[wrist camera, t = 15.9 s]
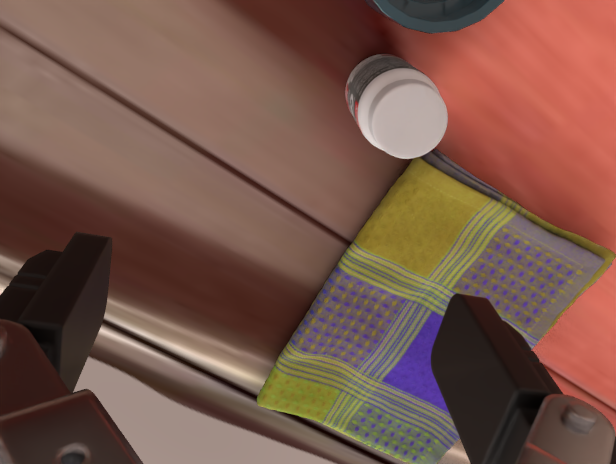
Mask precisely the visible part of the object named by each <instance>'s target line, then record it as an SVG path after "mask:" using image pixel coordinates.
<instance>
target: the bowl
mask: <svg viewBox="0 0 616 464" xmlns="http://www.w3.org/2000/svg"><path fill="white" fill-rule="evenodd" d="M365 1H366V3H367V4H368V5H369V7H371V8H372V9H373V10H375V11H376V12H378V13H379V14H381V15H382V16H384V17H385V18H387V19H389V20H390V21H393V22H395V23H397V24H399V25H401V26H403V27H405V28H409V29H413V30H417V31H421V32H425V33H429V34H430V33H431V34H433V33H443V32H453V31H458V30H461V29H463V28H465V27H467V26H470V25H472V24H474V23H476V22H479V21H481V20H482V19H484V18H485V17H486V16H488V15H489V14H490V13H491V12H492V11H493V10H495V9H496V8H497V7H498V6H499V5H500V4H502V3H503V2H504V0H365Z"/></svg>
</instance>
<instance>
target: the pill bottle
mask: <svg viewBox="0 0 616 464" xmlns="http://www.w3.org/2000/svg"><path fill="white" fill-rule="evenodd" d="M345 94H346V102H347V105H348V108H349V110H350V112H351V114H352V115H353V117H354V119H355V121H356V123H357V124H358V126H359V128H360V130H361V132H362V133H363V135H364V137H365V138H366V139H367V140H368V141H369V142H370V143H371V144H372V145H374V146H375V147H377V148H379V149H381V150H383V151H385V152H387V153H388V154H390V155H392V156H394V157H398V158H403V159H409V158H416V157H419V156H422V155H424V154H426V153H428V152H429V151H431V150H432V149H433V148H435V147H436V146H437V144H438V143H439V142H440V141H441V139H442V137H443V136H444V133H445V131H446V128H447V123H448V114H447V108H446V105H445V103H444V101H443V99H442V97H441V96H440V93H439V91H438V89H437V87H436V86H435V84H434V83H433V82H432V81H431V79H429V78H428V77H427V76H426V75H425V74H424V73H422V72H420V71H419V70H418V69H416V68H415V67H413V66H412V65H410V64H409V63H408V62H406V61H405V60H404V59H402V58H400V57H397V56H395V55H391V54H378V55H374V56H371V57H369V58H367V59H365V60H363V61H362V62H360V63H359V64H358V65H357V66H356V67H355V68H354V70H353V71H352V72H351V74H350V76H349V78H348V81H347V85H346V92H345Z"/></svg>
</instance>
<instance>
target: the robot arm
mask: <svg viewBox="0 0 616 464" xmlns="http://www.w3.org/2000/svg"><path fill="white" fill-rule="evenodd" d="M111 254H112V238H111V237H105V236H99V235H93V234H87V233H80V232H76V233H75V234H74V236H73V237H72V239H71V240H70V242H69V243H68V245H67V246H66V248H65V249H64V251H63V252H58V251H52V250H45V251H43V252H41V253H39V254H37V255H35V256H34V257H32V258H30V259H28V260H27V261H26V263H25V264H24V265H23V266H22V268H21V269H20V270H19V272H18V275H16V276H15V277H14V278H13V280H12V281H11V282H10V285H9V286H7V288H6V289H5V290H4V291H3V293H2V294H1V295H0V464H143V463H142V461H141V460H140V458H139V457H138V455H137V454H136V453H135V451H134V450H133V448H132V447H131V445H130V444H129V442H128V441H127V440H126V438H125V437H124V435H123V434H122V432H121V431H120V430H119V429H118V427H117V425H116V424H115V422H114V421H113V420H112V418H111V417H110V415H109V414H108V412H107V411H106V410H105V408H104V407H103V405H102V404H101V403H100V401H99V400H98V398H97V397H96V396H95V394H94V393H93V392H91V391H90V390H88V389H84V390H81V391H77V392H74V393H73V391H74V388H75V386H76V384H77V381H78V379H79V376H80V374H81V372H82V369H83V367H84V365H85V362H86V360H87V358H88V355H89V353H90V351H91V348H92V346H93V344H94V341H95V339H96V337H97V334H98V332H99V330H100V327H101V324H102V321H103V318H104V314H105V309H106V303H107V295H108V285H109V275H110V264H111ZM431 369H432V373H433V375H434V377H435V380H436V382H437V385H438V387H439V389H440V392H441V394H442V396H443V399H444V401H445V404H446V406H447V408H448V411H449V413H450V415H451V418H452V420H453V423H454V425H455V427H456V430H457V432H458V434H459V437H460V439H461V441H462V444H463V446H464V449H465V451H466V453H467V456H468V458H469V460H470V463H471V464H616V437H615V430H614V427H613V425H612V424H611V423H610V421H609V420H608V419H607V418H606V417H605V416H604V415H603V414H602V413H601V412H600V411H598V410H597V409H596V408H594V407H593V406H591V405H590V404H588V403H586V402H584V401H582V400H580V399H578V398H575V397H572V396H569V395H564V394H563V393H562V392H561V390H560V389H559V387H558V386H557V384H556V383H555V382H554V380H553V379H552V377H551V376H550V374H549V373H548V372H547V370H546V369H545V367H544V366H543V364H542V363H539V359H538V357H537V356H536V354H535V353H534V352H533V351H531V347H530V346H529V344H528V343H527V342H526V340H525V339H524V337H523V336H522V334H520V333H519V332H518V331H517V330H515V329H514V328H513V327H512V326H511V325H509V324H508V323H507V322H506V321H503V320H502V319H501V317H500V316H499V314H498V313H497V311H496V310H495V308H494V307H493V306H492V304H491V303H490V301H489V300H488V299H487V298H484V297H477V296H471V295H465V294H459V293H456V294H454V295H453V296H452V297H451V299H450V301H449V303H448V306H447V309H446V312H445V314H444V317H443V320H442V322H441V325H440V328H439V330H438V333H437V336H436V339H435V341H434V344H433V347H432V352H431Z"/></svg>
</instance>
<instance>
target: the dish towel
mask: <svg viewBox="0 0 616 464" xmlns="http://www.w3.org/2000/svg"><path fill="white" fill-rule="evenodd" d="M615 257H616V254H615V253H614V252H612V251H611V250H609V249H607V248H605V247H603V246H601V245H598V244H596V243H594V242H592V241H590V240H588V239H586V238H584V237H582V236H579V235H577V234H574V233H572V232H569V231H566V230H563V229H561V228H558V227H556V226H554V225H552V224H550V223H548V222H546V221H544V220H543V219H541V218H539V217H537V216H536V215H535V214H533V213H531V212H529V211H528V210H526V209H525V208H524V207H522V206H521V205H520V204H518V203H517V202H515V201H513V200H512V199H510V198H509V197H507V196H506V195H504V194H503V193H501V192H500V191H498V190H497V189H495V188H493V187H492V186H490V185H488V184H486V183H485V182H483V181H482V180H480V179H478V178H476V177H475V176H473V175H472V174H471V173H469V172H468V171H466V170H465V169H463V168H462V167H460V166H459V165H458V164H456V163H455V162H453V161H452V160H450V159H449V158H448V157H447V156H446V155H444V154H442V153H441V152H439V151H438V150H437V149H435V150H434V151H433V152H432V151H429V152H428V153H426V154H424V155H423V156H422V157H420V156H419V157H416V158H414V159H413V160H412V162H411V163H410V164H409V166H408V167H407V169H406V170H405V171H404V173H403V174H402V175H401V176H400V177H399V178H398V179H397V181H396V182H395V184H394V185H393V186H392V187H391V188H390V190H389V191H388V193H387V194H386V196H385V197H384V198H383V199H382V201H381V203H380V205H379V206H378V207H377V208H376V209H375V211H374V212H373V214H372V216H371V217H370V218H369V219H368V220H367V221H366V223H365V225H364V226H363V228H362V229H361V230H360V231H359V233H358V235H357V237H356V238H355V240H354V241H353V243H352V244H351V245H350V246H349V247H348V249H347V250H346V251H345V253H344V254H343V256H342V257H341V259H340V261H339V262H338V264H337V265H336V267H335V268H334V270H333V271H332V272H331V274H330V276H329V278H328V279H327V280H326V282H325V284H324V286H323V288H322V290H321V291H320V292H319V293H318V295H317V297H316V299H315V300H314V302H313V303H312V305H311V307H310V309H309V311H308V312H307V313H306V315H305V317H304V319H303V320H302V321H301V322H300V324H299V326H298V328H297V329H296V331H295V332H294V333H293V335H292V337H291V339H290V340H289V342H288V344H287V345H286V346H285V348H284V349H283V351H282V352H281V354H280V355H279V357H278V359H277V361H276V363H275V365H274V367H273V369H272V370H271V373H270V375H269V377H268V378H267V380H266V381H265V384H264V386H263V388H262V389H261V390H260V393H259V395H258V397H257V404H258V405H259V406H261V407H265V408H267V409H270V410H277V411H281V412H286V413H289V414H294V415H298V416H300V417H305V418H309V419H313V420H315V421H317V422H319V423H322V424H324V425H326V426H328V427H330V428H332V429H334V430H336V431H338V432H341V433H343V434H345V435H347V436H349V437H351V438H353V439H355V440H357V441H359V442H362V443H364V444H366V445H368V446H370V447H372V448H374V449H377V450H379V451H381V452H384V453H386V454H388V455H390V456H392V457H394V458H397V459H399V460H401V461H403V462H405V463H408V464H437V463H438V462H439V461H440V459H441V458H442V457H443V456H444V454H445V453H446V452H447V451H448V450H449V449H450V448H451V447H452V446H453V445H454V443H455V442H456V441H457V440H458V439H459V438H460V437H459V434H458V432H457V430H456V427H455V425H454V423H453V420H452V418H451V415H450V413H449V411H448V408H447V406H446V404H445V401H444V399H443V396H442V394H441V392H440V389H439V387H438V385H437V382H436V380H435V377H434V375H433V373H432V369H431V352H432V347H433V344H434V341H435V339H436V336H437V333H438V330H439V328H440V325H441V322H442V320H443V317H444V314H445V312H446V309H447V306H448V303H449V301H450V299H451V297H452V296H453V295H454V294H456V293H459V294H465V295H471V296H477V297H484V298H487V299H488V300H489V301H490V303H491V304H492V306H493V307H494V308H495V310H496V311H497V313H498V314H499V316H500V317H501V319H502V320H503V321H506V322H507V323H508V324H509V325H511V326H512V327H513V328H514V329H515V330H517V331H518V332H519V333H520V334H522V336H523V337H524V339H525V340H526V342H527V343H528V344H529V346H530V347H531V350H532V348H533V347H534V346H535V345H536V344H537V343H538V342H539V341H540V340H541V338H542V337H543V336H544V335H545V334H546V333H547V332H548V331H549V330H550V329H551V328H552V327H553V326H554V325H555V323H556V322H557V320H558V319H559V318H560V316H561V315H562V314H563V313H564V312H565V311H566V310H567V309H568V308H569V307H570V306H571V305H572V304H573V303H574V302H575V300H576V299H577V298H578V297H579V296H581V295H582V294H583V292H584V291H585V290H587V289H588V288H589V287H590V286H592V285H593V284H594V283H595V282H596V281H597V280H598V279H599V278H600V277H601V276H602V275H603V273H604V272H605V271H606V270H607V269H608V268H609V267H610V266H611V265H612V261H613V260H614V259H615Z"/></svg>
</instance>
